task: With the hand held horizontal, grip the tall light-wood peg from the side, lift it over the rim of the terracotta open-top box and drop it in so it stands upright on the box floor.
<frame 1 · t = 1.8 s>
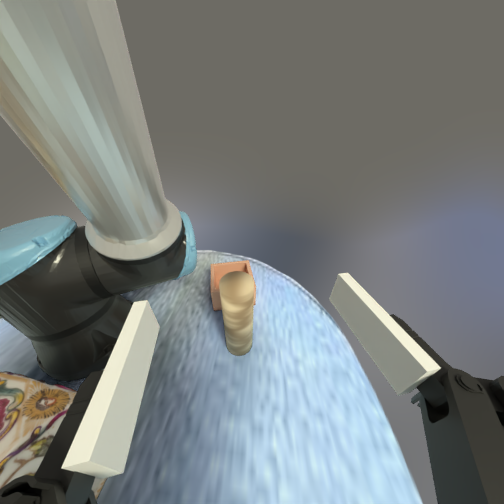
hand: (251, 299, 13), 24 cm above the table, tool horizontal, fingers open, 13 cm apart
peg: (239, 342, 35), on the table
box: (232, 292, 45), on the table
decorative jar: (56, 487, 21), on the table
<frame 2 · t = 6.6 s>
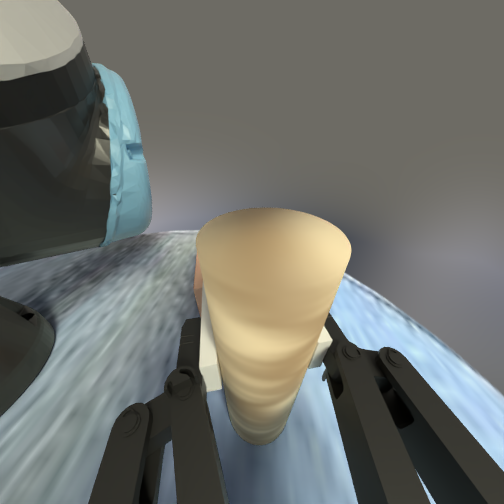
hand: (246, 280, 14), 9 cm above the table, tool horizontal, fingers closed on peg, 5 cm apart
peg: (258, 402, 15), on the table, touching gripper
box: (237, 290, 26), on the table
when the fingers open (12 cm above the table, at t = 13.9 s): peg drops 2 cm, resting on box.
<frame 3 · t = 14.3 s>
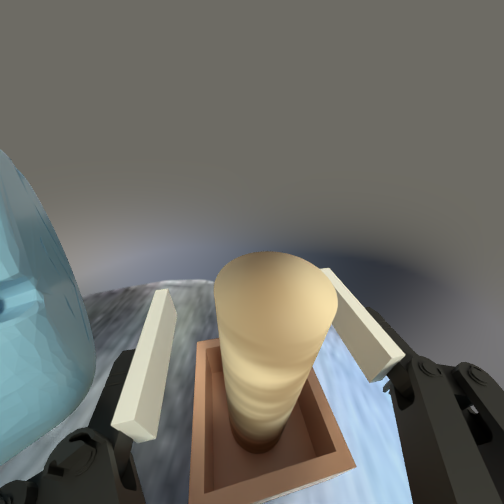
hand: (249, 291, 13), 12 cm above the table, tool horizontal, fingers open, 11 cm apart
peg: (256, 413, 16), point 1 cm above the table, touching box
box: (256, 415, 17), on the table
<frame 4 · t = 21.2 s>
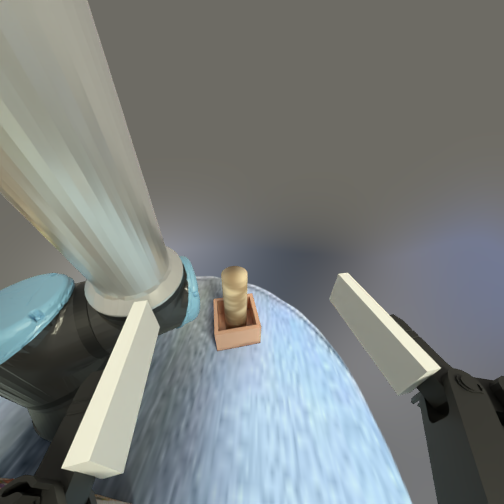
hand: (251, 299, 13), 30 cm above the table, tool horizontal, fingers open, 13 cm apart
peg: (236, 325, 43), point 1 cm above the table, touching box
box: (236, 327, 44), on the table
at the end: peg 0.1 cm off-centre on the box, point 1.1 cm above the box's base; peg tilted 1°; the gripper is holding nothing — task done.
